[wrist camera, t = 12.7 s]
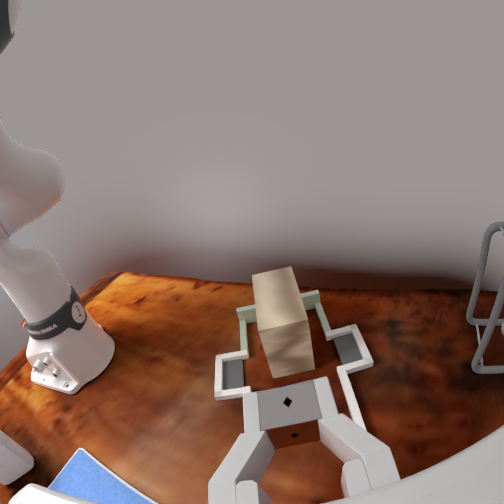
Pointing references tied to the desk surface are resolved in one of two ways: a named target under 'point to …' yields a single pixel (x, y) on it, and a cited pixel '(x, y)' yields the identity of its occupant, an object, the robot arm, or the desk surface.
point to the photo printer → (13, 460)
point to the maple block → (282, 322)
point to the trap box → (345, 339)
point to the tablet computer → (95, 482)
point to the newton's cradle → (493, 321)
